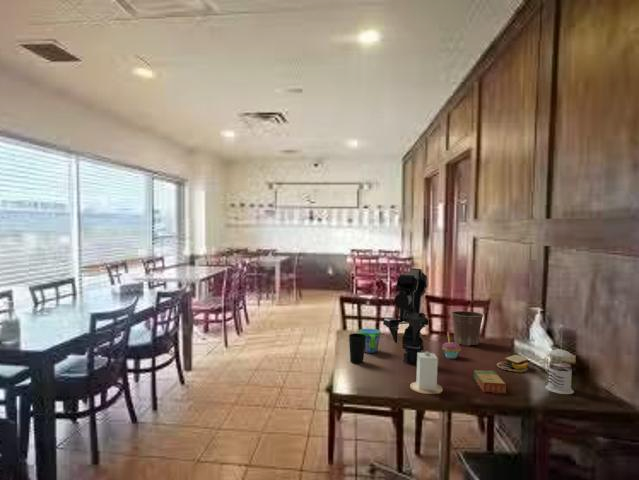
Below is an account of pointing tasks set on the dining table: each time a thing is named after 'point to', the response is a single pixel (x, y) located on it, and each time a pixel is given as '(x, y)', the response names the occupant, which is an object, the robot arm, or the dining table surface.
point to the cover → (427, 371)
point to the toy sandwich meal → (514, 363)
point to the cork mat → (415, 388)
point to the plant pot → (467, 327)
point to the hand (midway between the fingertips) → (405, 342)
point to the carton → (489, 381)
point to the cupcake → (451, 348)
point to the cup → (357, 347)
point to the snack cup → (371, 339)
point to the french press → (559, 372)
